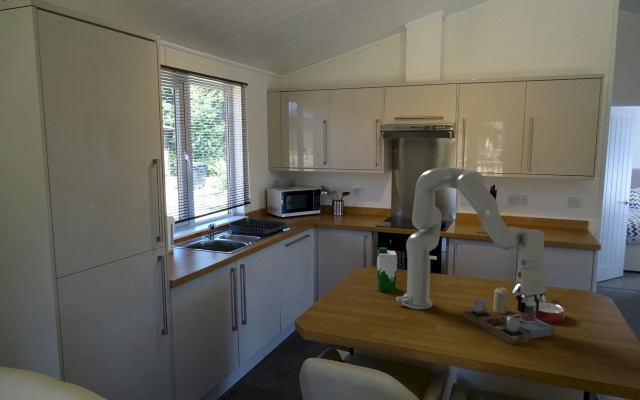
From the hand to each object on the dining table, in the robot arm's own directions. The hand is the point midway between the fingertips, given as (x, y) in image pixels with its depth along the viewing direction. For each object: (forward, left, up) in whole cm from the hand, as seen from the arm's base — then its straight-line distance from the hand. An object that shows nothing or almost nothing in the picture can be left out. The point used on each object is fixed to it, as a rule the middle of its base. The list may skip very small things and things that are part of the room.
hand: (527, 310), depth 168 cm
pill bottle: (0, 0, -4) cm, 4 cm away
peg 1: (-11, +13, -7) cm, 19 cm away
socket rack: (-11, +4, -7) cm, 14 cm away
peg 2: (-11, -5, -7) cm, 14 cm away
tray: (0, 0, -7) cm, 7 cm away
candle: (+3, +18, -8) cm, 20 cm away
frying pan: (+22, +16, -8) cm, 28 cm away
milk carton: (-30, +57, -8) cm, 65 cm away
